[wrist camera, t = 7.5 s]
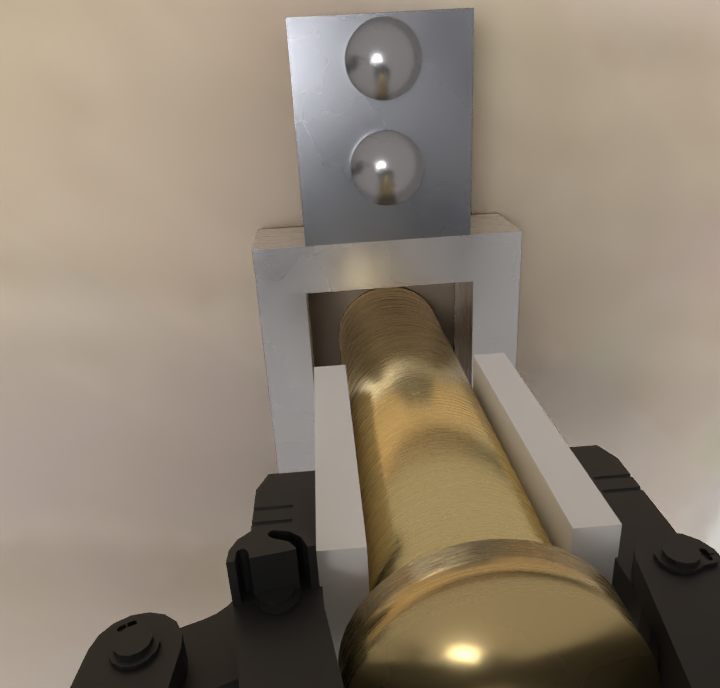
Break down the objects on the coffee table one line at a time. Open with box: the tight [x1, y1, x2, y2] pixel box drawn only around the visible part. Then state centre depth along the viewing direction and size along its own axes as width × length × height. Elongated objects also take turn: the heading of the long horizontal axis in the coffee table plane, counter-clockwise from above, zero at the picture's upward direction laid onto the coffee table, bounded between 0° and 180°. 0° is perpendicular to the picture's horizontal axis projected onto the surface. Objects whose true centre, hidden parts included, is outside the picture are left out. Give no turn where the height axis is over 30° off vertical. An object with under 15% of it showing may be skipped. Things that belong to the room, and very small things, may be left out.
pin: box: [338, 287, 660, 688], centre depth 15 cm, size 4×4×14 cm
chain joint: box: [252, 8, 522, 473], centre depth 20 cm, size 18×7×3 cm, turn 3°
